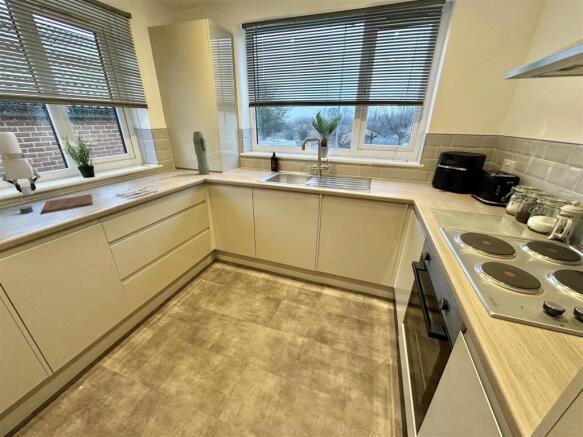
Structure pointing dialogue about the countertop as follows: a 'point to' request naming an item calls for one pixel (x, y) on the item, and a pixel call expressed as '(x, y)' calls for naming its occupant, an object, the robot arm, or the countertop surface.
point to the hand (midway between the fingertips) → (27, 190)
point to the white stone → (26, 190)
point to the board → (67, 203)
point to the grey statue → (201, 153)
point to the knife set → (136, 191)
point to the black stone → (26, 210)
